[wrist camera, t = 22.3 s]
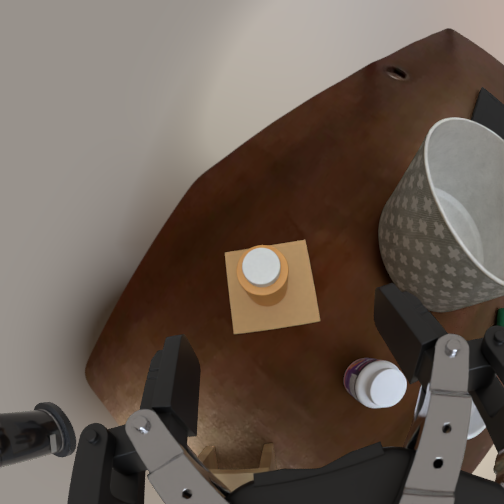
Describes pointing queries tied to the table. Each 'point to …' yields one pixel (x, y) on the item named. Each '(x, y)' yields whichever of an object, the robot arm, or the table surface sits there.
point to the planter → (448, 219)
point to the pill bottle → (375, 382)
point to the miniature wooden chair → (238, 476)
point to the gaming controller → (500, 317)
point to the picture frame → (489, 112)
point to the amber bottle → (263, 274)
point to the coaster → (289, 308)
